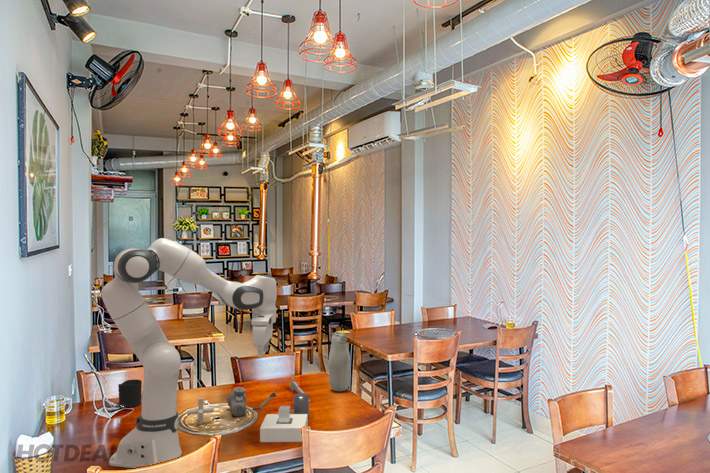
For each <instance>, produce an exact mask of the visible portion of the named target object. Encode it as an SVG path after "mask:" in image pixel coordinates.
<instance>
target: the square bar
mask: <svg viewBox="0 0 710 473" xmlns="http://www.w3.org/2000/svg"><path fill="white" fill-rule="evenodd" d="M291 409H292V407H291V405H279V407H278V414H279V424H291V414H292V413H291V412H292V410H291Z"/></svg>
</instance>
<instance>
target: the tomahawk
mask: <svg viewBox="0 0 710 473" xmlns="http://www.w3.org/2000/svg"><path fill="white" fill-rule="evenodd" d="M276 394H277V393H276V392H272V393H270V396H268V397H267V399H265V400H264V401H263V402H262V403H261V404H260V405H259V406H258V407H253V408H252V411H259V412H261V411H263V410H264V406H265V405H267V403H269V402H270V401H271V400H272V399H273V398H274V397H275V396H276Z"/></svg>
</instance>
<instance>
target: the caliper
mask: <svg viewBox="0 0 710 473" xmlns="http://www.w3.org/2000/svg"><path fill="white" fill-rule="evenodd" d="M289 383H290V384H289V385H290V386H289V389H290V391H292V392H294V391H295V392H298V393H305V392H304V391H303V390H302V388H300V387H299V384H297V382H296V381H295V378H294V377H291V379H290V382H289ZM309 403H311V400H310V399H309Z"/></svg>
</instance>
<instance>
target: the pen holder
mask: <svg viewBox="0 0 710 473" xmlns="http://www.w3.org/2000/svg"><path fill="white" fill-rule="evenodd" d="M142 383H143V381H142V380H141V379H126V380H125V381H123V382H122V383H119V384H118V404H119V405H122V406H124V407H132V408H135V407H138V406H140V405H142V390H143V384H142ZM119 405H118V406H119Z"/></svg>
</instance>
